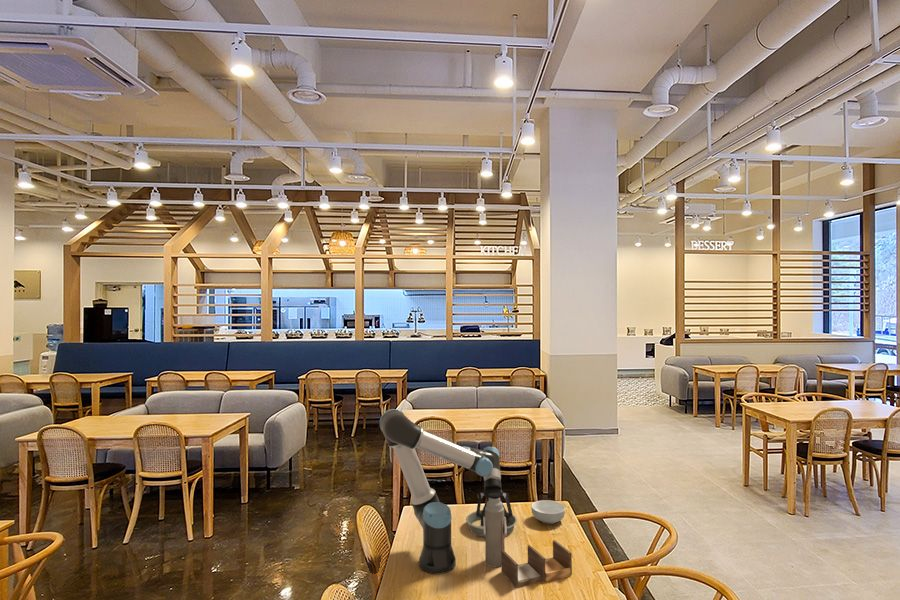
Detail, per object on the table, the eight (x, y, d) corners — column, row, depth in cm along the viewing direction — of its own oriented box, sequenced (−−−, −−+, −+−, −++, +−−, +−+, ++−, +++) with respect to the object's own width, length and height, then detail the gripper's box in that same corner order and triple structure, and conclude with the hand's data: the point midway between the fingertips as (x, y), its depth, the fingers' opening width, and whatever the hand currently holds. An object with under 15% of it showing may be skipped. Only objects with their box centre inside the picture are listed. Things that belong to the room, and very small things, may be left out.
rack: (516, 588, 186) (516, 565, 187) (501, 572, 198) (501, 550, 198) (572, 575, 195) (572, 553, 195) (555, 560, 207) (554, 540, 207)
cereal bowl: (527, 514, 255) (527, 500, 255) (558, 512, 257) (558, 499, 257) (537, 528, 238) (536, 513, 238) (570, 526, 240) (570, 512, 240)
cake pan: (516, 518, 250) (516, 509, 251) (517, 540, 226) (517, 530, 226) (467, 516, 253) (467, 507, 253) (464, 538, 229) (464, 528, 229)
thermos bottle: (507, 560, 207) (507, 493, 208) (499, 569, 200) (498, 499, 201) (490, 555, 211) (490, 489, 212) (482, 563, 205) (481, 495, 206)
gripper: (515, 485, 222) (519, 537, 205) (469, 485, 222) (469, 537, 206) (516, 477, 217) (521, 530, 200) (469, 477, 217) (470, 530, 201)
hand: (495, 533), depth 203 cm, fingers closed on thermos bottle, 8 cm apart
